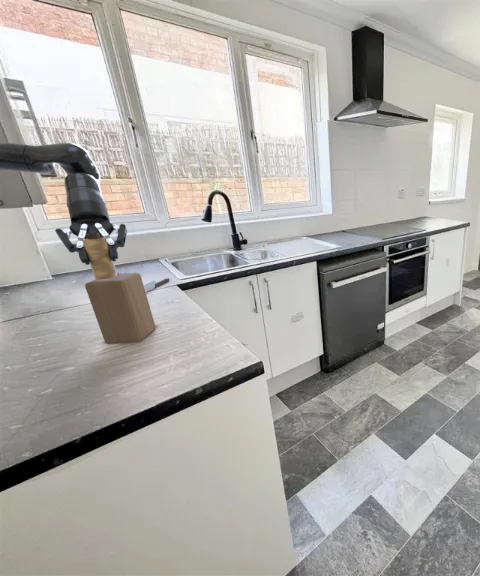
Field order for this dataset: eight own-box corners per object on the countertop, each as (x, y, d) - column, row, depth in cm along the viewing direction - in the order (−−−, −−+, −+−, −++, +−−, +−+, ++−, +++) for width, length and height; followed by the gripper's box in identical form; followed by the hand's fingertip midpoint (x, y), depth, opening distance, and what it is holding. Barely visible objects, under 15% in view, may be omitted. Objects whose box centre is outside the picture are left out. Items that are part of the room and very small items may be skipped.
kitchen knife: (165, 274, 153) (118, 294, 125) (167, 274, 153) (121, 294, 125) (167, 282, 155) (121, 303, 126) (169, 282, 155) (124, 303, 126)
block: (104, 345, 94) (81, 283, 87) (125, 330, 103) (106, 273, 96) (140, 342, 95) (121, 281, 88) (157, 328, 104) (141, 271, 98)
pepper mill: (97, 280, 77) (83, 235, 73) (92, 277, 79) (78, 234, 76) (119, 276, 80) (106, 233, 77) (114, 273, 83) (101, 231, 79)
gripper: (125, 216, 89) (138, 264, 84) (55, 220, 80) (65, 274, 75) (119, 197, 83) (133, 248, 78) (44, 199, 75) (54, 257, 70)
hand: (100, 260), depth 77 cm, fingers closed on pepper mill, 4 cm apart
